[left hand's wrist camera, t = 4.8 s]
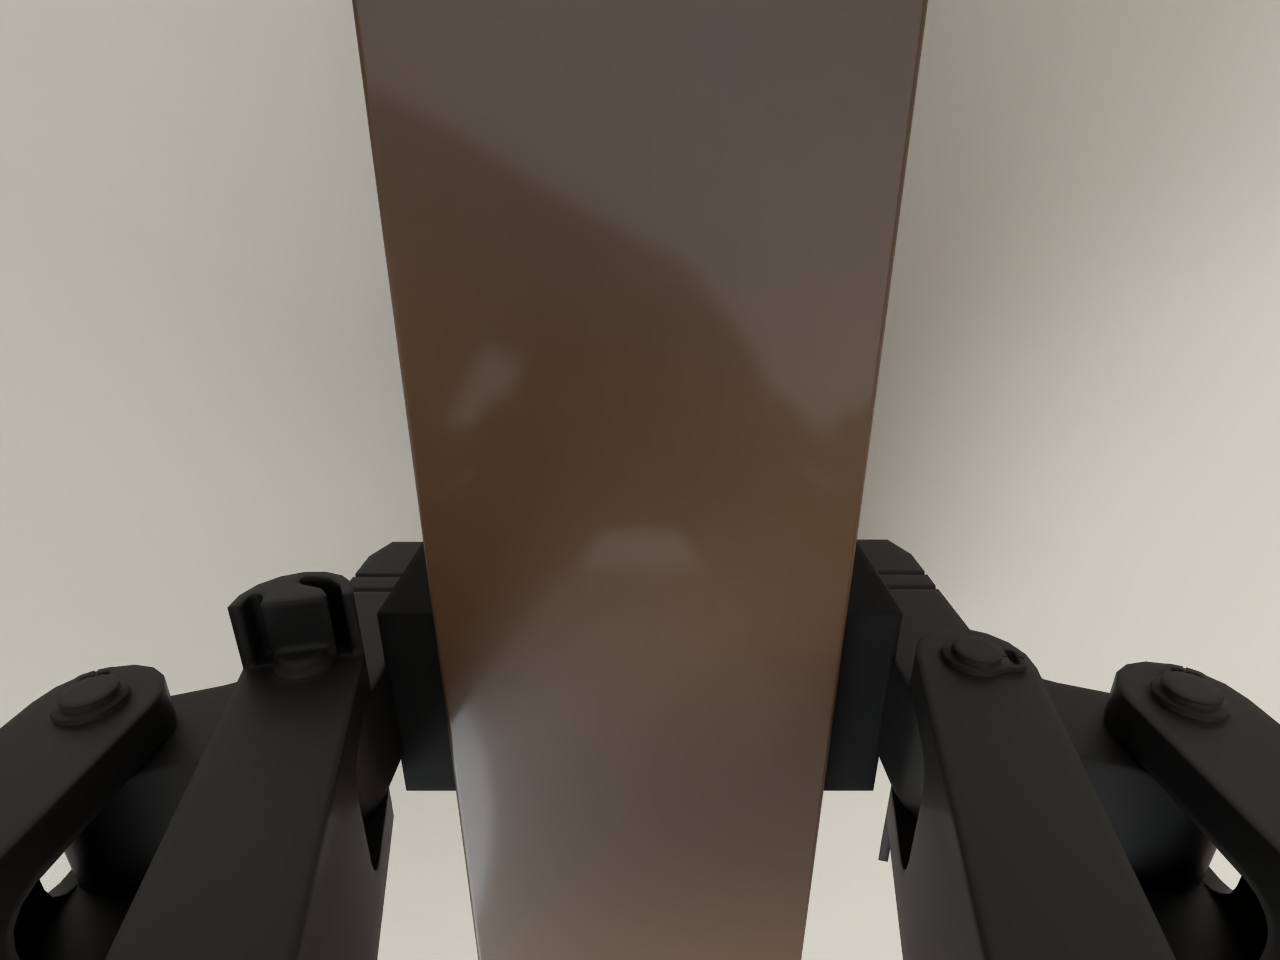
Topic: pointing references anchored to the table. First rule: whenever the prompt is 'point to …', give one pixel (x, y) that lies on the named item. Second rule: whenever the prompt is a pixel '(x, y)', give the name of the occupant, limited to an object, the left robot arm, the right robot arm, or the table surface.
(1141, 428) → the table surface
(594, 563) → the beam
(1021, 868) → the left robot arm
